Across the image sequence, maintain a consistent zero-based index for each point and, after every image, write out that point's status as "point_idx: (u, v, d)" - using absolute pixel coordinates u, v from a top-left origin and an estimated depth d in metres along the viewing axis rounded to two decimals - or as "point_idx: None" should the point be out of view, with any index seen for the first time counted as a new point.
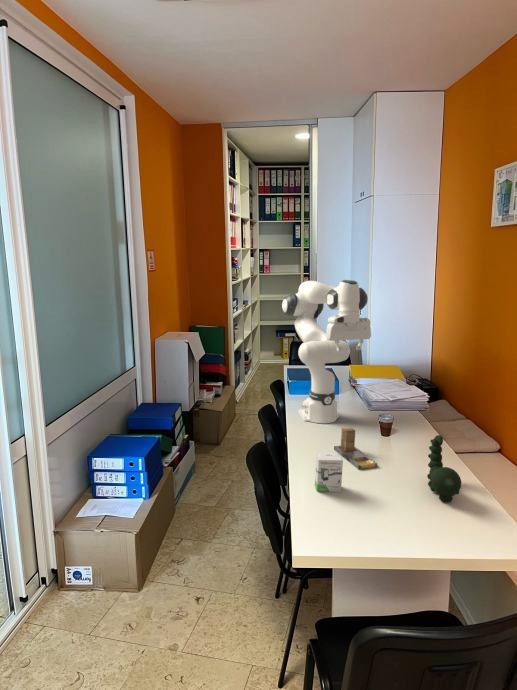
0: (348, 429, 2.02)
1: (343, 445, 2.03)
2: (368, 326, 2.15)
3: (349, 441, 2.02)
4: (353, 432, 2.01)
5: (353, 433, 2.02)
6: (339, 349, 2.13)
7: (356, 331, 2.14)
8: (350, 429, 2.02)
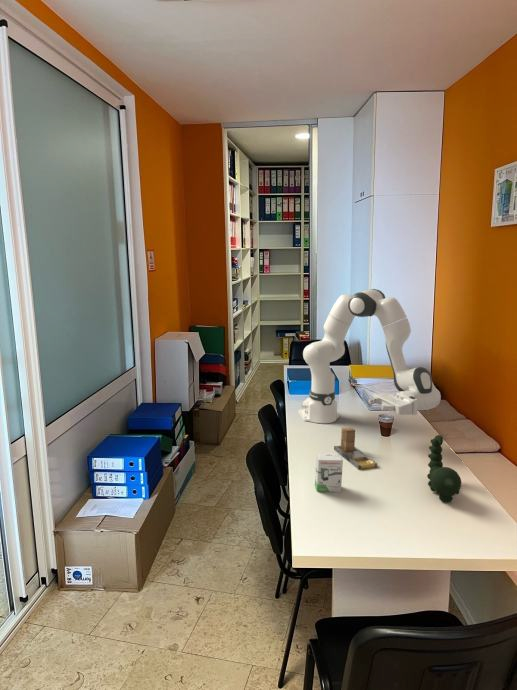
0: (348, 429, 2.02)
1: (343, 445, 2.03)
2: None
3: (349, 441, 2.02)
4: (353, 432, 2.01)
5: (353, 433, 2.02)
6: None
7: None
8: (350, 429, 2.02)
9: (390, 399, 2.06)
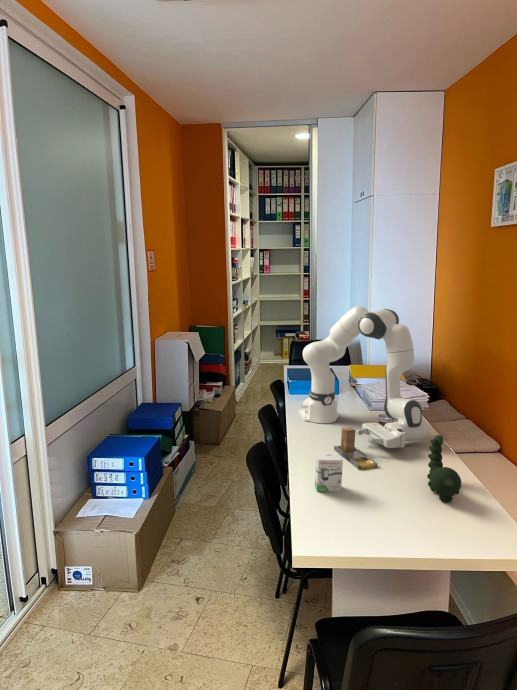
0: (348, 429, 2.02)
1: (343, 445, 2.03)
2: None
3: (349, 441, 2.02)
4: (353, 432, 2.01)
5: (353, 433, 2.02)
6: None
7: None
8: (350, 429, 2.02)
9: (378, 431, 2.07)
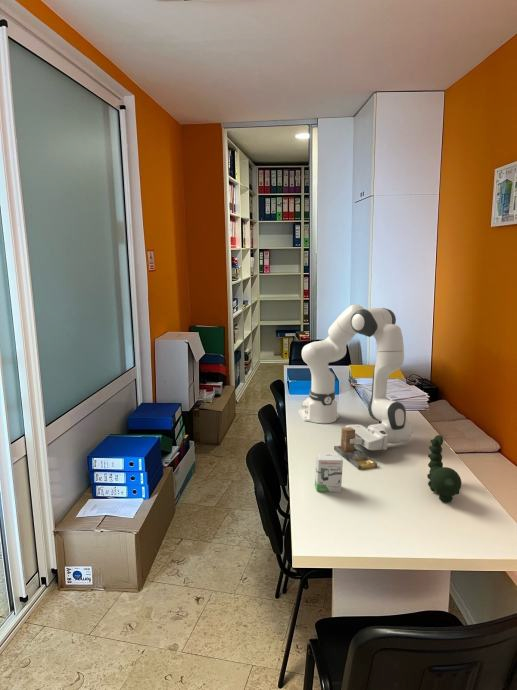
0: (348, 429, 2.02)
1: (343, 445, 2.03)
2: None
3: None
4: (353, 432, 2.01)
5: (353, 433, 2.02)
6: None
7: None
8: (350, 429, 2.02)
9: (361, 433, 2.05)
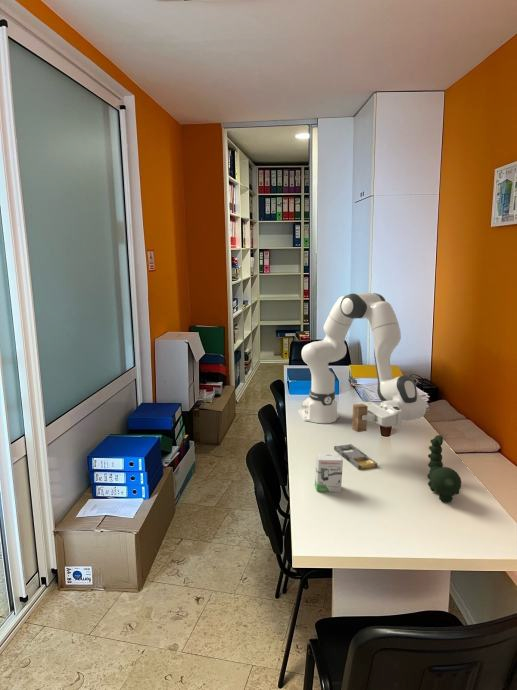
0: (360, 405, 1.93)
1: (355, 422, 1.93)
2: None
3: None
4: (365, 408, 1.92)
5: (366, 409, 1.92)
6: None
7: None
8: (362, 405, 1.93)
9: (373, 409, 1.95)
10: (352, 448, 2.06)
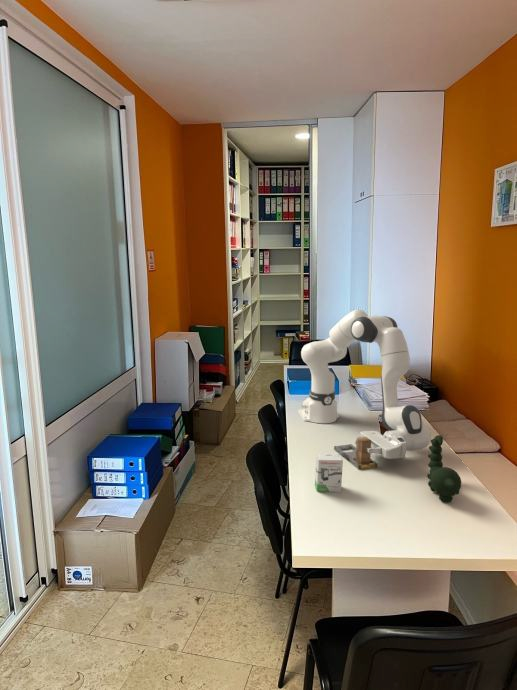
0: (363, 439, 1.91)
1: (359, 456, 1.92)
2: None
3: (365, 451, 1.90)
4: (369, 442, 1.90)
5: (369, 443, 1.90)
6: None
7: None
8: (366, 439, 1.91)
9: (377, 440, 1.93)
10: (352, 448, 2.06)
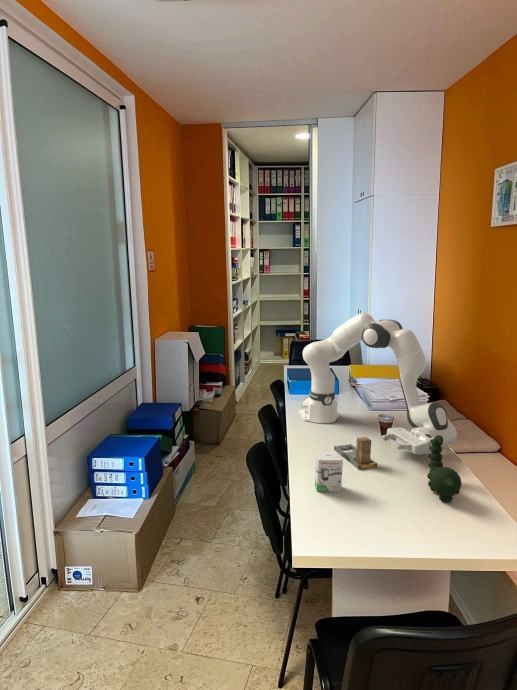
0: (363, 439, 1.91)
1: (359, 456, 1.92)
2: None
3: (365, 451, 1.90)
4: (369, 442, 1.90)
5: (369, 443, 1.90)
6: None
7: None
8: (366, 439, 1.91)
9: (405, 436, 1.97)
10: (352, 448, 2.06)
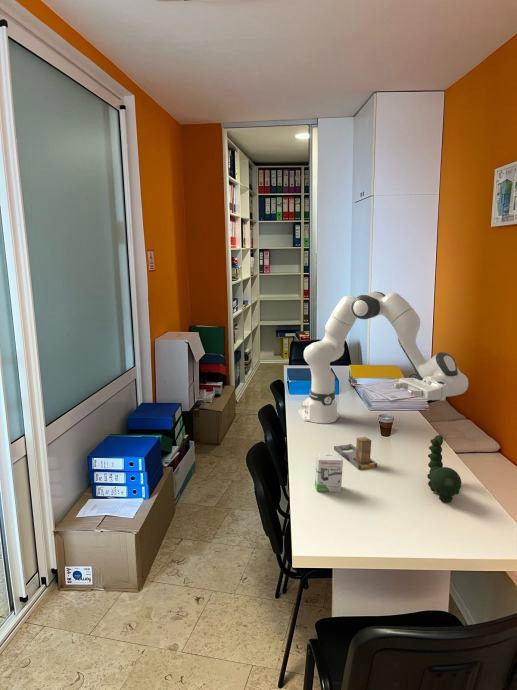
0: (363, 439, 1.91)
1: (359, 456, 1.92)
2: None
3: (365, 451, 1.90)
4: (369, 442, 1.90)
5: (369, 443, 1.90)
6: (411, 395, 1.91)
7: None
8: (366, 439, 1.91)
9: (417, 384, 1.97)
10: (352, 448, 2.06)
